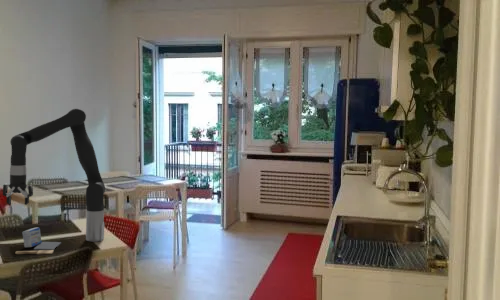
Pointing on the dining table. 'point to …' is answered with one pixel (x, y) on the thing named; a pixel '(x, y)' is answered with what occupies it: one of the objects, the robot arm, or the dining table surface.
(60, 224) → the dining table surface
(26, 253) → the wooden turner
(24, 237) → the medicine box
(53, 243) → the rubber mat
